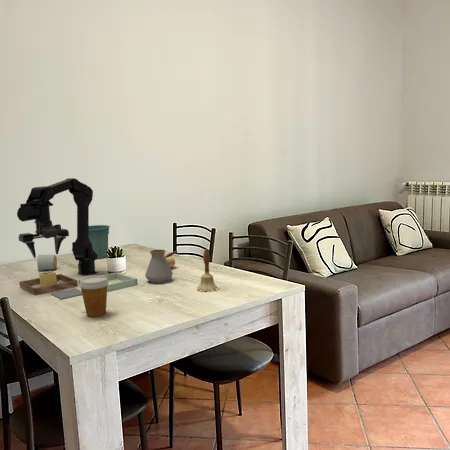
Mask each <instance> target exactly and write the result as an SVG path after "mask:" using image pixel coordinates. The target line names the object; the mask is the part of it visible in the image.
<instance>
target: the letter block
mask: <svg viewBox="0 0 450 450" xmlns="http://www.w3.org/2000/svg"><path fill="white" fill-rule="evenodd" d="M38 274H39V277H38V278H40V284H39V286H40V287H44V286H49V285H54V284H58V283H57V280H56V275H57V272H55V271H54V270H47V271H43V272H39V273H38Z"/></svg>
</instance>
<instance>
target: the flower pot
mask: <svg viewBox="0 0 450 450" xmlns="http://www.w3.org/2000/svg"><path fill="white" fill-rule="evenodd" d="M110 228H111V225H107V224H96V225H95V224H93V225H92V224H91V225H89V240H90V241H91V243H92V248H93V251H94V252H95V253H96V254H97V255H98V256H97V260H100V259H102V258H103V259H105V258H107V257H108V256H107V250H108V251H109V235H110Z"/></svg>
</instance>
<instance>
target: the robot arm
mask: <svg viewBox="0 0 450 450" xmlns="http://www.w3.org/2000/svg"><path fill="white" fill-rule="evenodd" d="M66 191H68V192H69V193H70V194H71V195H72V197H73V198H72V199H73V202H74V204H75V205H76V239H75V241H73V242H72V243H71V245H72V246H71V247H72V248H71V252H72V254H73V256H74V259H75V261H78V264H77V269H78V270H77V271H78V272H77V274H80V275H82V276H86V275H87V276H88V275H93V274H96V273H98V272H97V271H96V263H95V262H96V261H97V260H98V259H97V256H98V255H97V254H96V253H95V252H94V251H93V248H92V243H91V241H90V240H89V226H90V225H89V219H90V217H89V212H90V211H89V207H90V205H91V203H92V201H93V196H94V191H93V189H92V188H91V186H88V184H86V183H83V182H81V181H79V180H78V179H77V178H75V177H73V178H69V177H68V178H66V179H63V180H61V181H57V182H56V183H53V184H50V185H47V186H45V185H43V186H35V187H32V188H31V189H30V192H29V195H28V197H27V200H26V201H25V203H20V204H19V206H20V207H18V209H17V212H16V217H17V218H18V220H19V221H21V222H28V221H34V224H35V232H34V233H31V232H26V233H25V232H24V233H19V235H18V241H19V242H21V243H23V244H25V245H26V247H27V248H28V249H29V251H30V253H31V255H32V258H33V259H36V257H37V256H36V255H37V254H36V248H35V241H34V240H35V239H43V238H44V239H50V238H53V240H54V249H55V250H54V251H55V255H58V254H59V253H60V248H61V245H62V242H63V241H64V240H66V239H67V237H70V232H69V229H66V228H62V225H61V224H54V225H53V222H52V220H51V212H50V211H51V210H50V207H53V206H54V203H53V202H51V201H50V200H52V199H54V197H55V196H56V195H57V194H60V193H63V192H66Z"/></svg>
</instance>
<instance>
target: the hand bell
mask: <svg viewBox="0 0 450 450" xmlns="http://www.w3.org/2000/svg"><path fill="white" fill-rule="evenodd" d="M202 258H203V263H204V274H202V275H201V277H200V282H199V285H198V286H197V287H196V290H197V289H198V290H201V291H212V290H216V289H217V288H218V289H219V287H218V286H217V285H216V283H215V281H214V276H213V275H212V273H210V261H211V255H210V251H209V249H208V248H205V249H204V251H203V257H202ZM218 289H217V290H218ZM198 290H197V291H198ZM217 290H216V291H217ZM201 291H200V292H201ZM212 292H213V291H212Z"/></svg>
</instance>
